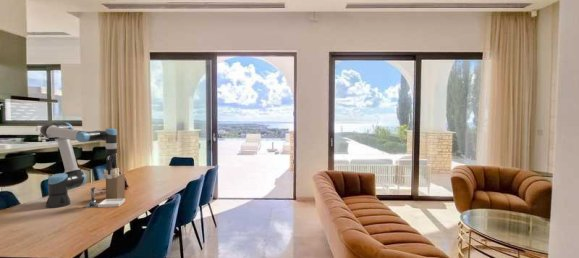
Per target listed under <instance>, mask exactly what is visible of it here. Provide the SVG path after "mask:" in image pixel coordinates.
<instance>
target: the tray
mask: <svg viewBox="0 0 579 258" xmlns="http://www.w3.org/2000/svg"><path fill="white" fill-rule="evenodd" d="M125 202H126V198H125V197H123V198H121V199H106V198H105V199H104V200H102V201H100V202H98V203H99V204H98V207H97V208H112V207H113V208H117V206H119V207H120V206H121V205H122V204H123V203H125Z"/></svg>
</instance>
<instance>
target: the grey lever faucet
mask: <svg viewBox="0 0 579 258" xmlns="http://www.w3.org/2000/svg"><path fill="white" fill-rule="evenodd" d="M95 189H96V187H95V186H93V187H91V188H90V191H91V195H90V196H91V197H90V199H91V200H89V202H88V203H87V204H86V205H84V206H83V209H89V208H99V207H98V204H99V203H100V202H97V199H95Z"/></svg>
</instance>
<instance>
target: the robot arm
mask: <svg viewBox="0 0 579 258" xmlns="http://www.w3.org/2000/svg"><path fill="white" fill-rule="evenodd" d="M39 129H40V130H39V132H40V134H41V135H42V136H43V137H45V138H51V139H54V141H55V142H56V143H57V144H58V149H59V152H60V156H61V159H62V163H63V167H64V172H62V173H55V174H52V175H51V176H49V177H48V181H47V184H48V197H47V200H46V202H45V207H46V208H49V209H52V208H53V209H55V208H62V207H66V206H69V205H70V204H71V203H72V201H71V198H70V197H69V194H68V193H69V192H68V190H71V189H74V188H79V187H81V186H84V185H85V183H86V182H87V174H86V173H85V172H84V171H82V169H81V168H80V167H78V163H77V159H76V156H75V152H74V148H73V143H72V141H77V142H78V143H86V142H87V143H88V142H89V143H90V142H98V141H103V142H104V141H105V154H106V155H107V156H106V166H105V169H106V170H107V178H108V179H112V170H111V168H118V166H117V164H118V163H117V155H116V154H117V153H118V149H117V148H118V142H117V141H118V139H117V138H118V136H117V135H118V132H117V129H116V128H106V129H105V130H92V131H85V130H84V131H83V130H77V129H74V127H73V125H72V124H71V123H69V122H64V121H63V122H62V121H61V122H47V123H44V124H43V125H42V126H41V127H40V128H39ZM71 140H72V141H71Z"/></svg>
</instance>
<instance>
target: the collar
mask: <svg viewBox="0 0 579 258" xmlns="http://www.w3.org/2000/svg"><path fill="white" fill-rule="evenodd" d="M111 170H112V178H116V177H118V176H119V174H120V168H119V167H117V168H112V167H111ZM102 174H103V178H104V179H106V178H107V170H106V168H105V169H103V170H102Z"/></svg>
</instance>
